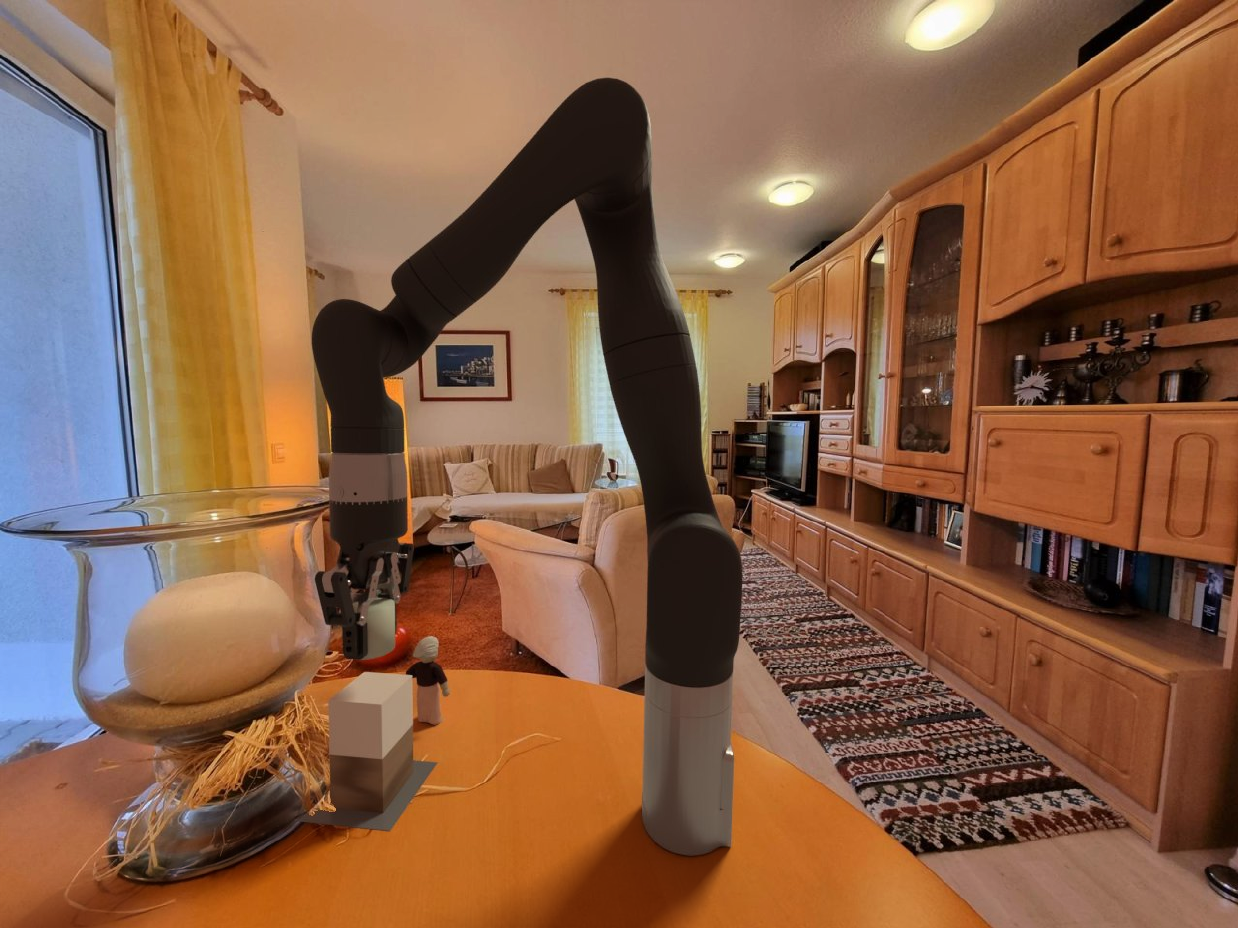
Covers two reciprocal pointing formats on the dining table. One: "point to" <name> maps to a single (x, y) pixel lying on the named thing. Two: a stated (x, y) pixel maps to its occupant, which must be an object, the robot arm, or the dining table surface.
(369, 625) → the drum
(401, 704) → the tower top
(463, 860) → the dining table surface
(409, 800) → the coaster
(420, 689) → the grandmother figurine
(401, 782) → the tower base
